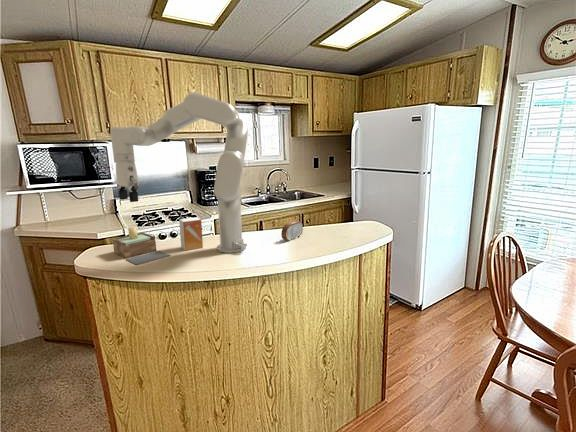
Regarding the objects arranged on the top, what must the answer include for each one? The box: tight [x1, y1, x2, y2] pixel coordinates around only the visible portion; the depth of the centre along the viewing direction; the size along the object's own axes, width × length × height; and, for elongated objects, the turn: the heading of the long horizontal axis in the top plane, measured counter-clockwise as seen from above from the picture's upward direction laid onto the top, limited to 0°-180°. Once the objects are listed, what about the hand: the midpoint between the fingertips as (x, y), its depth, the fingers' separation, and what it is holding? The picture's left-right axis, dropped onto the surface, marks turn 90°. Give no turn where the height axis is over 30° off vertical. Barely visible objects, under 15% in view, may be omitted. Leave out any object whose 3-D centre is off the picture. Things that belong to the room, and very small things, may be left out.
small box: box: [178, 216, 204, 251], centre depth 141 cm, size 8×6×13 cm
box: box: [112, 232, 157, 260], centre depth 136 cm, size 11×13×6 cm
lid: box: [117, 226, 151, 245], centre depth 136 cm, size 8×11×6 cm
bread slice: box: [281, 220, 304, 242], centre depth 154 cm, size 15×3×8 cm, turn 144°
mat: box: [125, 250, 171, 266], centre depth 130 cm, size 9×14×1 cm, turn 140°
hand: (128, 200), depth 133 cm, fingers open, 9 cm apart
